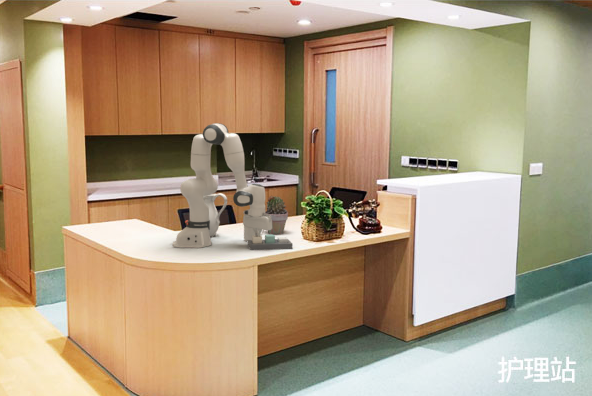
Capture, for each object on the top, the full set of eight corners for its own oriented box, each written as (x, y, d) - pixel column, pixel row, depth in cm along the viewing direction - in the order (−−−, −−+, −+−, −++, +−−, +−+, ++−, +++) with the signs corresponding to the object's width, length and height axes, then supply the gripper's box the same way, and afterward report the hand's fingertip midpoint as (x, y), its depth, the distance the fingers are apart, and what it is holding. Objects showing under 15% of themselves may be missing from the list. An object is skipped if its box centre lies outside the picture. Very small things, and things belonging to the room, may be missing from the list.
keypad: (250, 250, 335) (250, 244, 334) (247, 245, 347) (247, 239, 347) (292, 248, 340) (292, 243, 340) (287, 243, 353) (287, 238, 352)
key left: (253, 243, 339) (253, 237, 338) (252, 242, 344) (252, 235, 343) (262, 243, 340) (262, 236, 339) (260, 241, 345) (260, 235, 344)
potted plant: (291, 230, 394) (292, 192, 391) (288, 236, 375) (289, 197, 371) (264, 229, 396) (265, 192, 392) (259, 235, 377) (260, 196, 373)
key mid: (266, 243, 340) (266, 236, 340) (264, 241, 345) (264, 234, 345) (274, 243, 342) (275, 236, 341) (273, 241, 346) (273, 234, 346)
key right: (279, 246, 342) (279, 239, 342) (277, 244, 347) (277, 237, 347) (287, 245, 343) (287, 239, 343) (285, 244, 348) (285, 237, 348)
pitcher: (186, 236, 368) (186, 191, 364) (202, 231, 383) (202, 188, 379) (218, 240, 357) (218, 194, 353) (233, 235, 372) (233, 191, 368)
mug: (244, 242, 355) (244, 223, 353) (243, 239, 364) (243, 221, 362) (264, 241, 357) (264, 223, 355) (262, 238, 366) (263, 221, 364)
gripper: (274, 213, 335) (274, 237, 337) (249, 209, 348) (249, 232, 350) (267, 214, 330) (267, 239, 332) (241, 210, 343) (241, 234, 345)
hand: (257, 236), depth 341 cm, fingers closed
